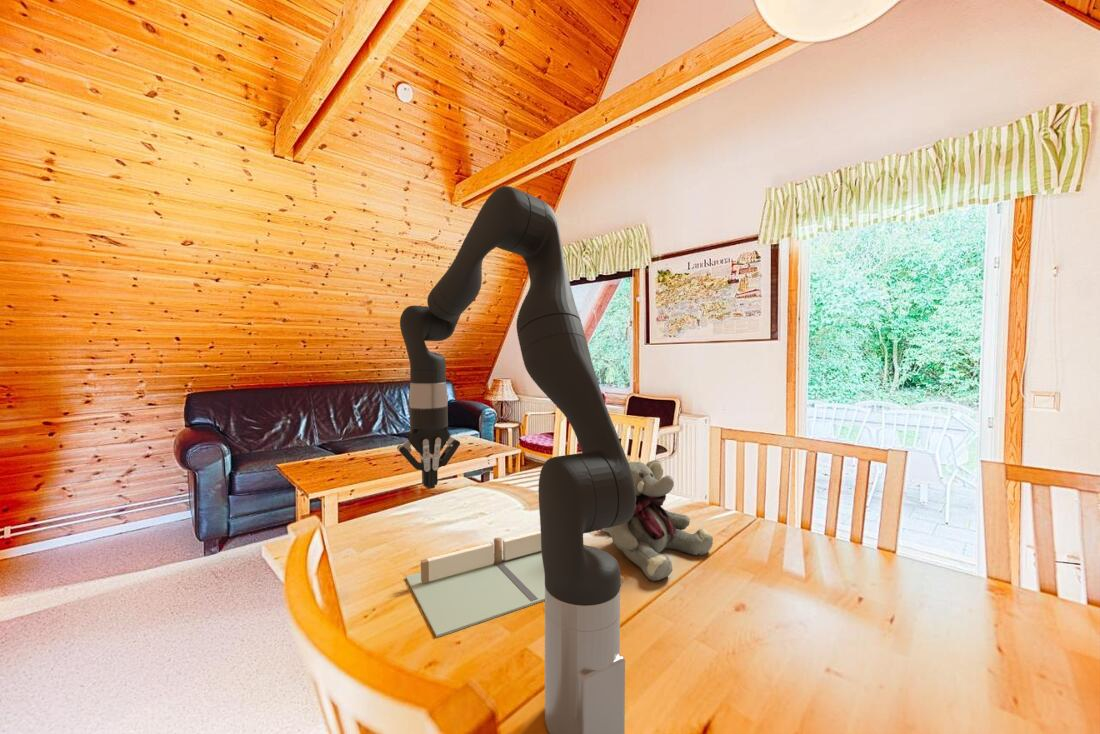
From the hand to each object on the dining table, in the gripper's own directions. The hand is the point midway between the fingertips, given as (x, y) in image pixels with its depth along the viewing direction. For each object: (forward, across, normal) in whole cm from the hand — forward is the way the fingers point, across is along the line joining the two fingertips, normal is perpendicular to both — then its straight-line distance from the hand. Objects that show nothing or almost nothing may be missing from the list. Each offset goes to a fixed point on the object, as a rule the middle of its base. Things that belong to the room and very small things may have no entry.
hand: (430, 487), depth 92 cm
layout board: (+17, +11, -12) cm, 23 cm away
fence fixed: (+17, +20, -6) cm, 27 cm away
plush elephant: (+17, +45, -16) cm, 51 cm away
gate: (+16, +4, -6) cm, 18 cm away
